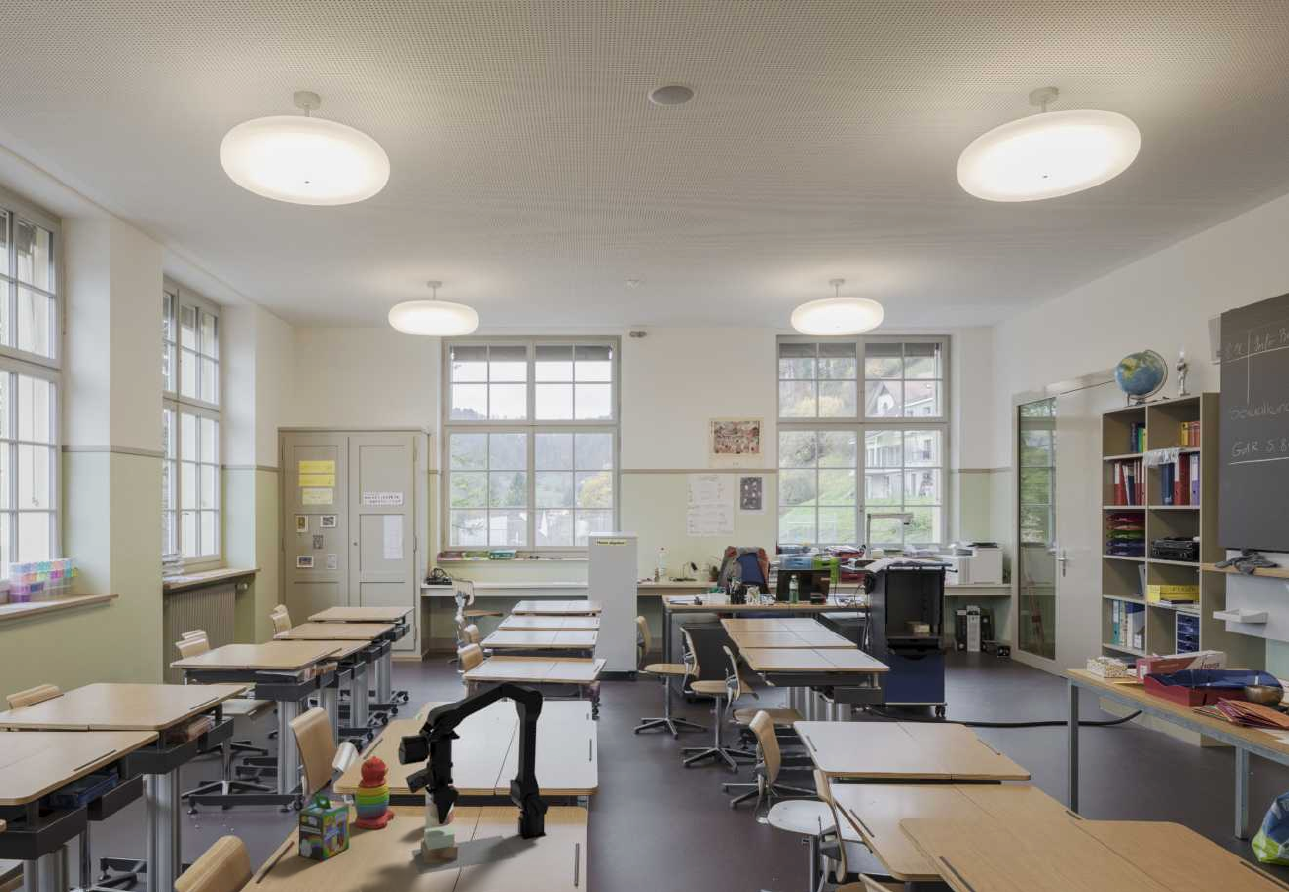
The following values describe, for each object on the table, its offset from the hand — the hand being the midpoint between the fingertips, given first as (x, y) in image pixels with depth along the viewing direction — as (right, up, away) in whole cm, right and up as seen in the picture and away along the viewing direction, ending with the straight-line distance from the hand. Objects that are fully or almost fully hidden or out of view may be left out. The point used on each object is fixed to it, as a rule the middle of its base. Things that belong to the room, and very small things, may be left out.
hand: (439, 820), depth 212 cm
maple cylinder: (0, -1, 0) cm, 1 cm away
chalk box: (-31, -10, +3) cm, 33 cm away
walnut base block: (0, -9, -1) cm, 9 cm away
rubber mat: (+6, -9, 0) cm, 11 cm away
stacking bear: (-25, -11, +23) cm, 36 cm away
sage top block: (0, -6, 0) cm, 6 cm away
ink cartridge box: (-5, -11, +21) cm, 24 cm away
